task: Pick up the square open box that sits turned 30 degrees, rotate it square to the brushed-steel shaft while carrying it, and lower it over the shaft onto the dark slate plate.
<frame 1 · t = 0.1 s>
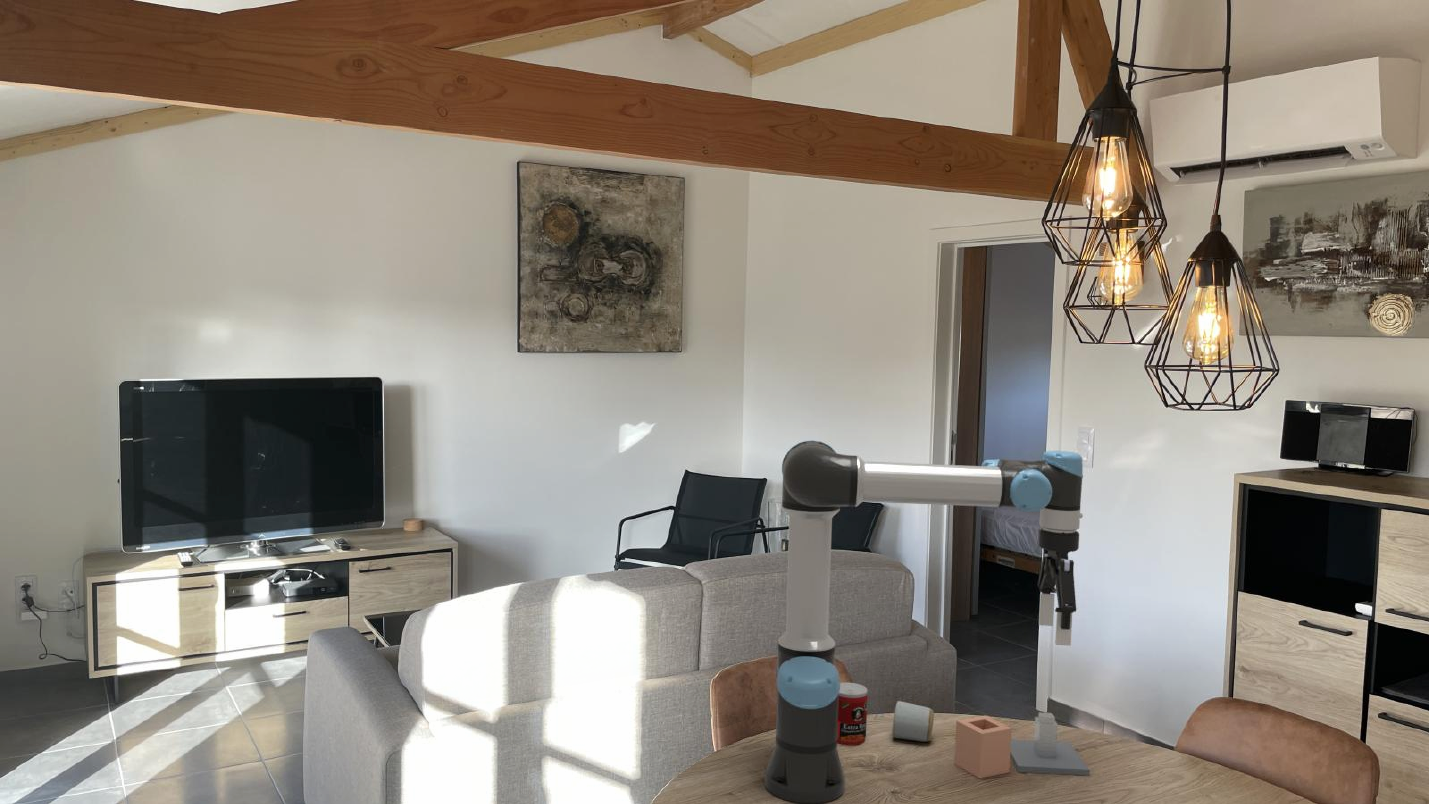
hand: (1054, 634, 206), 28 cm above the table, tool pointing down, fingers open, 13 cm apart
ceramic mug: (911, 737, 223), on the table
square shaft: (1045, 734, 213), on the shaft plate, point 5 cm above the table
shaft plate: (1044, 759, 213), on the table
canned food: (847, 739, 221), on the table
square open box: (981, 768, 208), on the table
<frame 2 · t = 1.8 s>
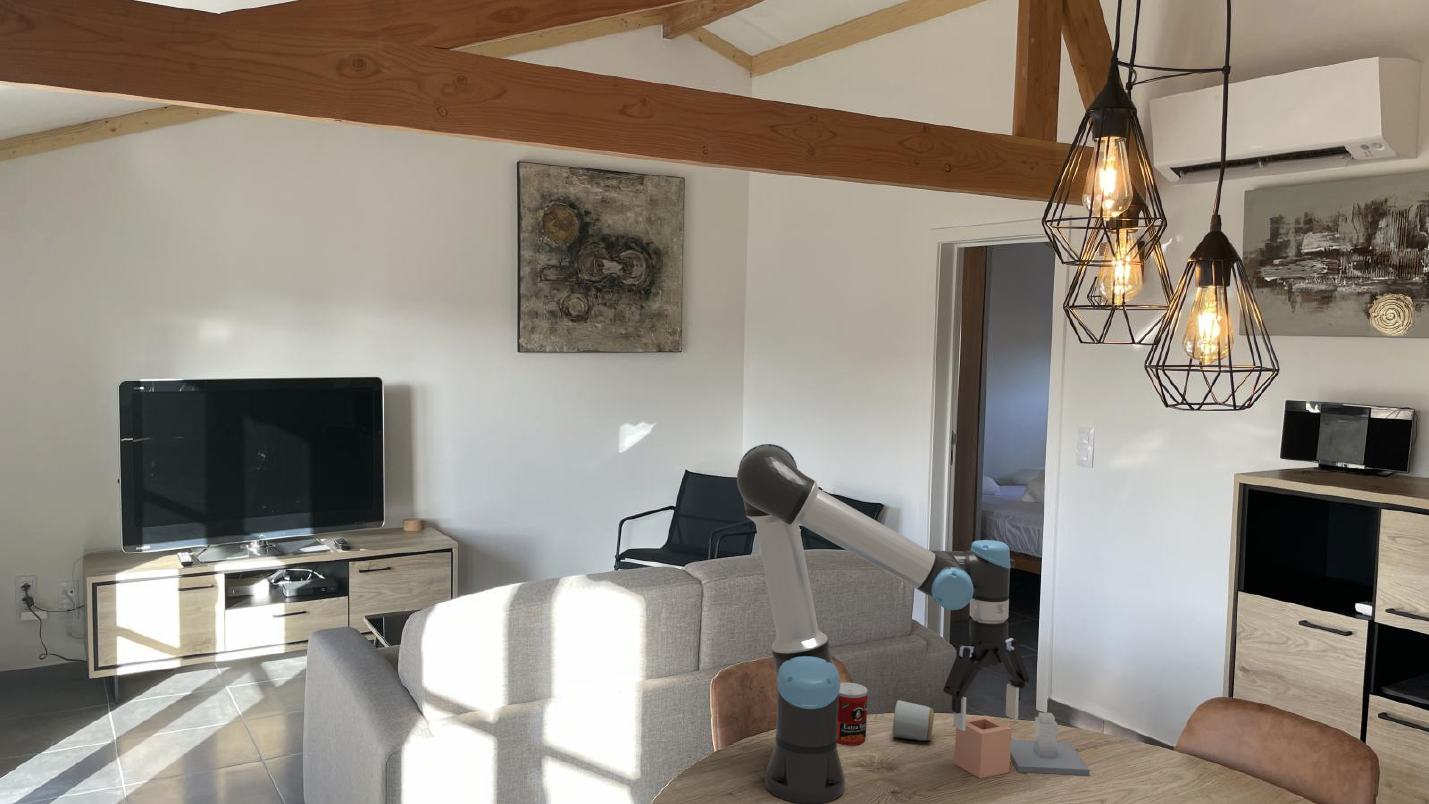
hand: (986, 723, 207), 9 cm above the table, tool pointing down, fingers open, 13 cm apart
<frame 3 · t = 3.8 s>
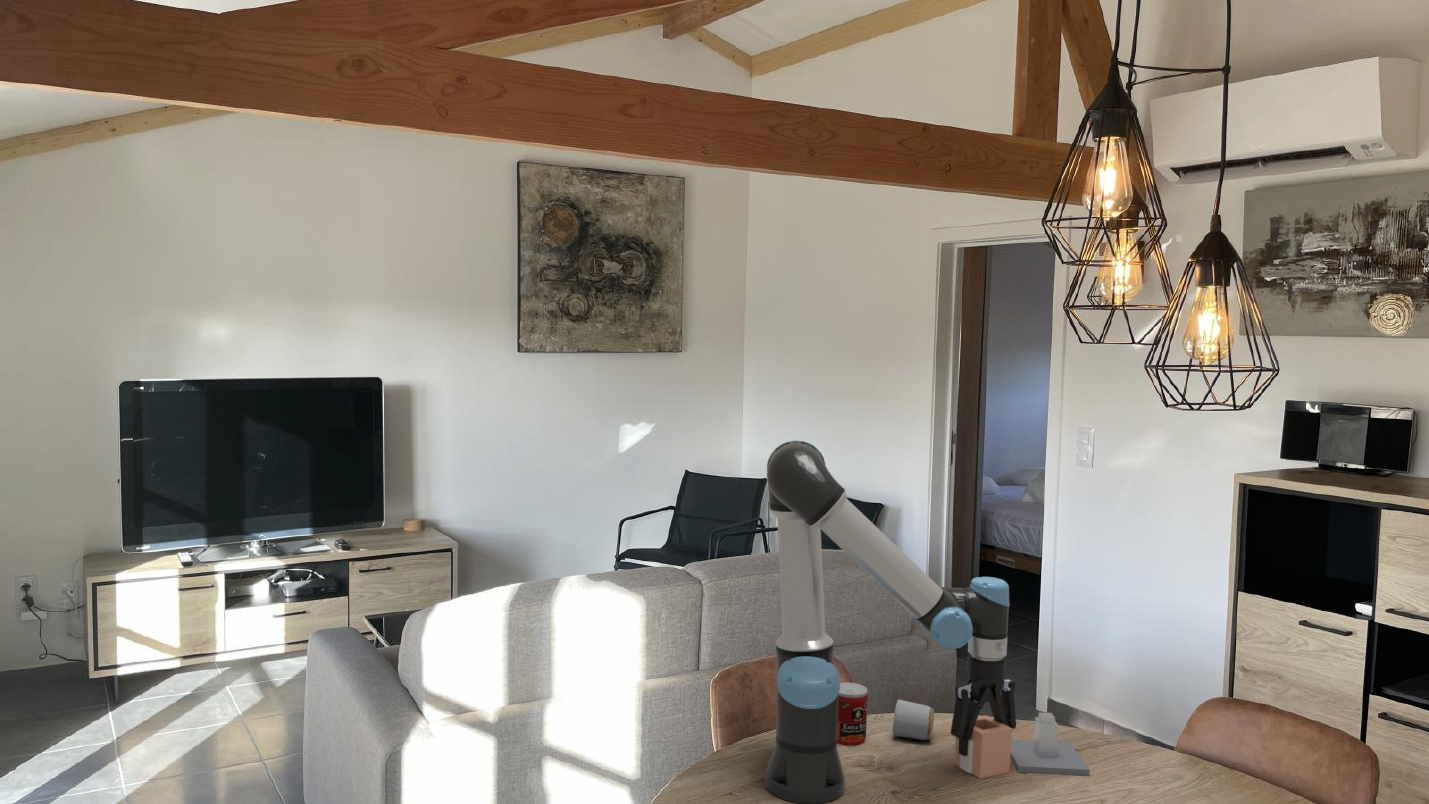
hand: (982, 766, 208), 0 cm above the table, tool pointing down, fingers closed on square open box, 8 cm apart
square open box: (981, 768, 208), on the table, touching gripper
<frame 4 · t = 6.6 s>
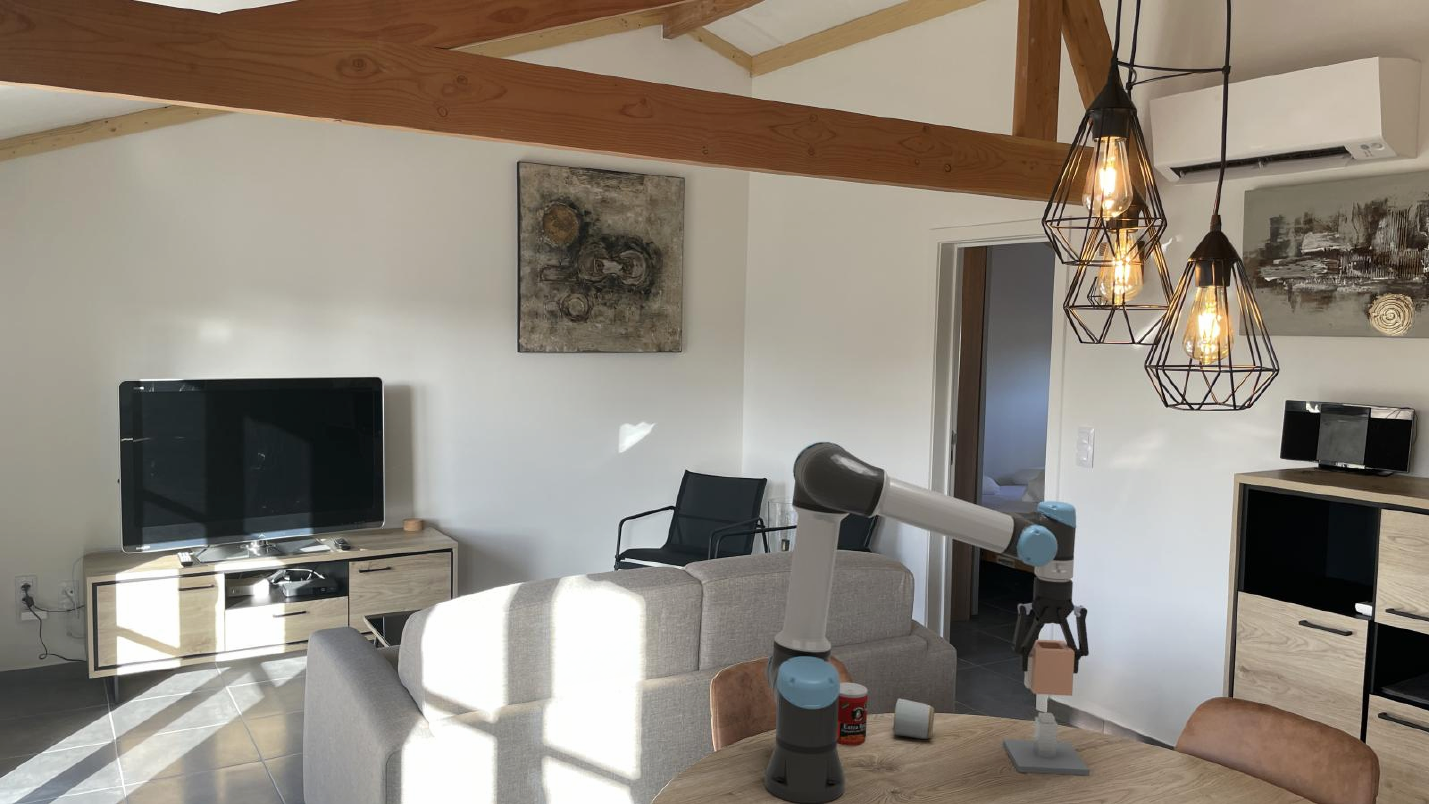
hand: (1048, 687, 212), 15 cm above the table, tool pointing down, fingers closed on square open box, 8 cm apart
square open box: (1048, 688, 212), point 15 cm above the table, touching gripper
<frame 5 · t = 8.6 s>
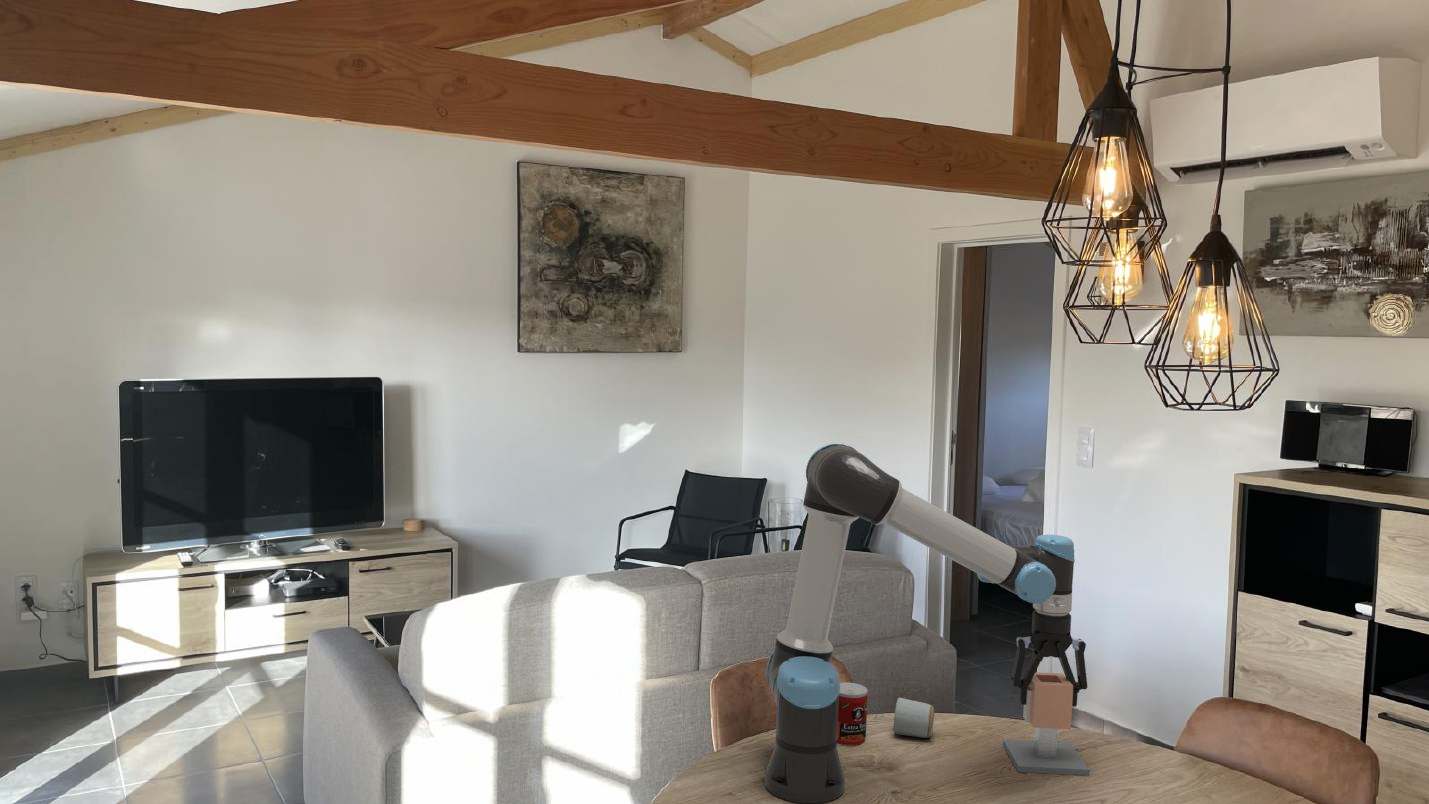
hand: (1047, 720, 212), 8 cm above the table, tool pointing down, fingers closed on square open box, 8 cm apart
square open box: (1046, 721, 212), point 8 cm above the table, touching gripper
when the fingers open (4 cm above the table, at t = 9.9 s): square open box drops 2 cm, resting on shaft plate.
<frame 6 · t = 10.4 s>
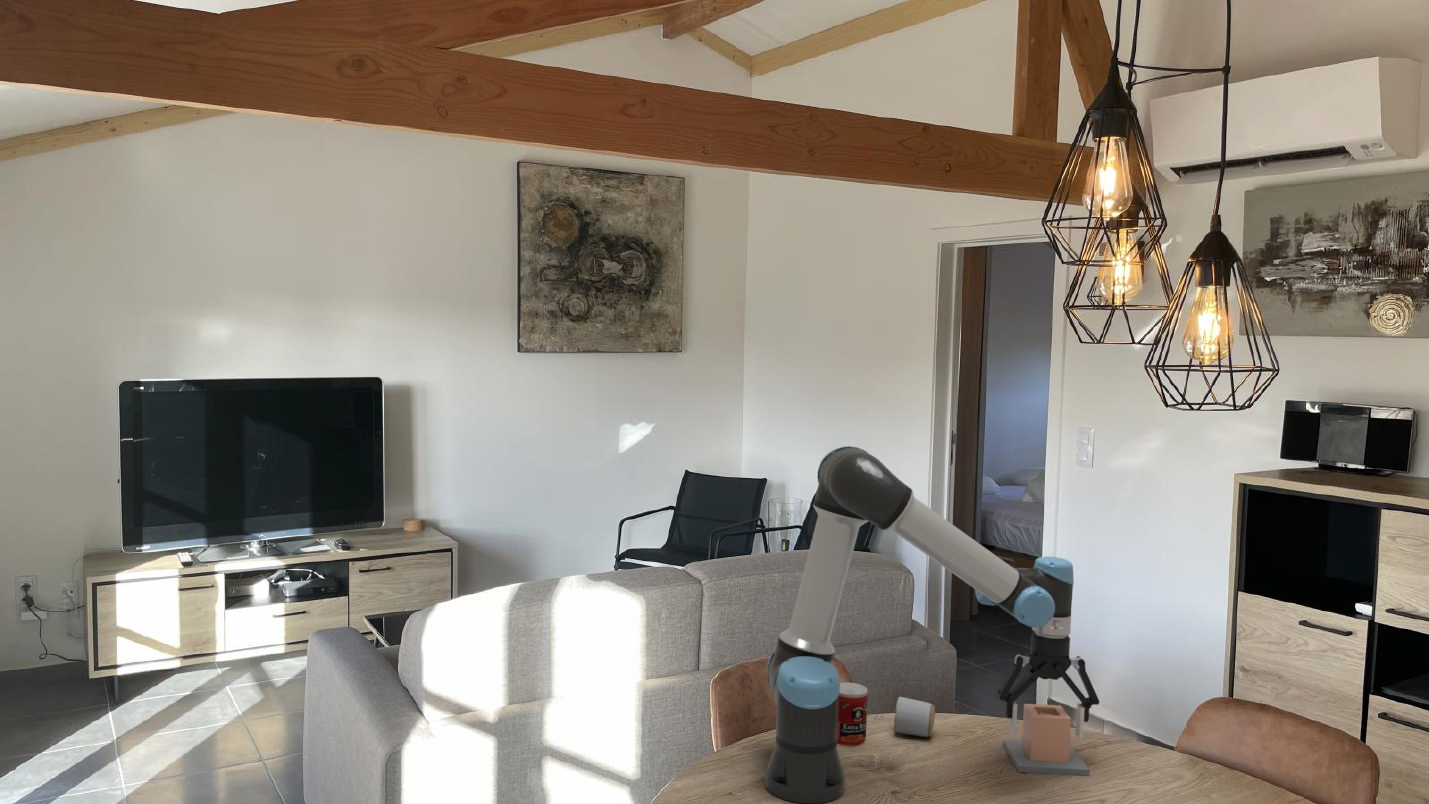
hand: (1045, 735, 213), 5 cm above the table, tool pointing down, fingers open, 13 cm apart
square open box: (1044, 753, 213), point 1 cm above the table, touching shaft plate
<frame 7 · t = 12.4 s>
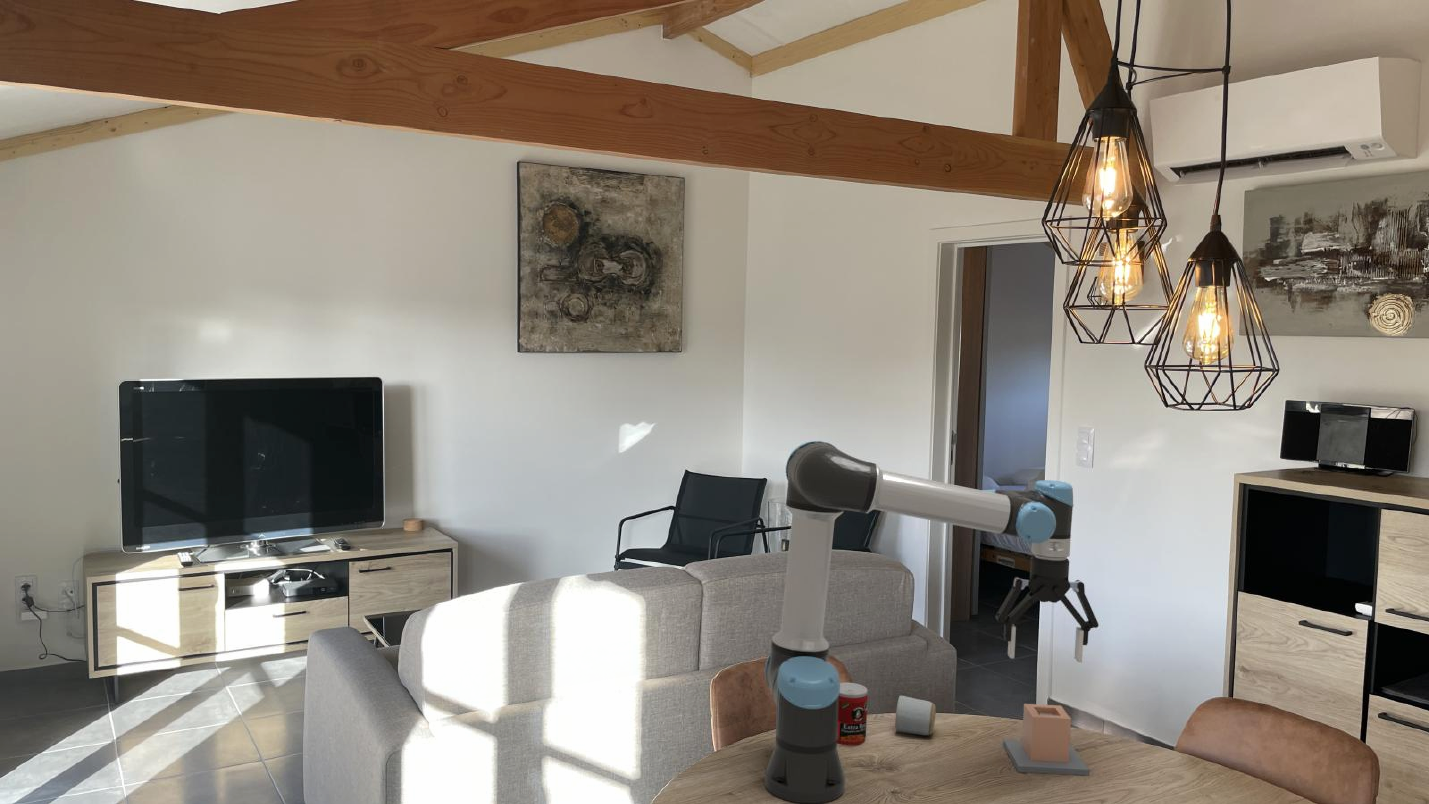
hand: (1044, 658, 212), 21 cm above the table, tool pointing down, fingers open, 13 cm apart
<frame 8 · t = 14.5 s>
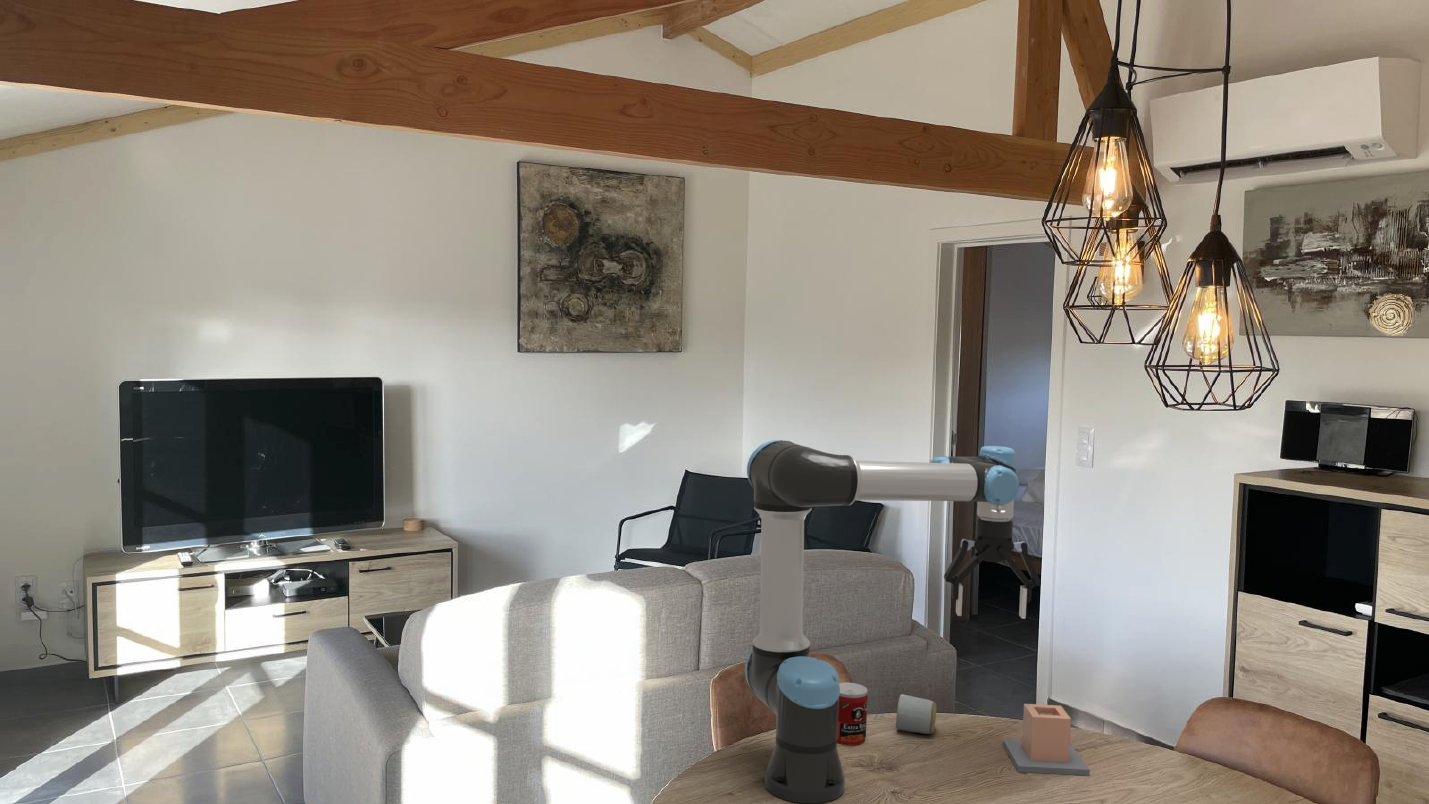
hand: (990, 615, 223), 27 cm above the table, tool pointing down, fingers open, 13 cm apart
at the end: square open box 0.0 cm off-centre on the shaft plate, point 1.2 cm above the shaft plate's base; square open box tilted 0°; the gripper is holding nothing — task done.
